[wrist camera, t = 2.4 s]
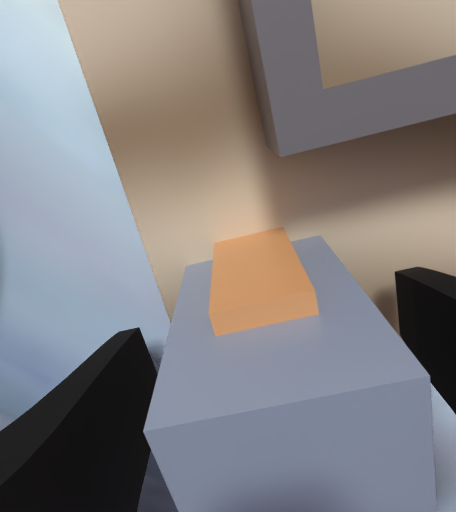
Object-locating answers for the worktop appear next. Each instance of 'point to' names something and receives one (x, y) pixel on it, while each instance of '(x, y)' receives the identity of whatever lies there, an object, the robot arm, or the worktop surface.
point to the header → (334, 98)
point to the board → (253, 138)
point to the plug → (288, 389)
